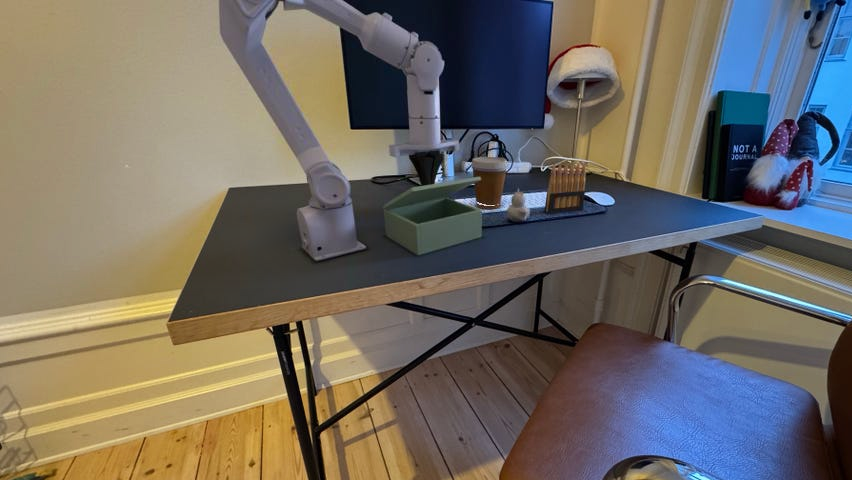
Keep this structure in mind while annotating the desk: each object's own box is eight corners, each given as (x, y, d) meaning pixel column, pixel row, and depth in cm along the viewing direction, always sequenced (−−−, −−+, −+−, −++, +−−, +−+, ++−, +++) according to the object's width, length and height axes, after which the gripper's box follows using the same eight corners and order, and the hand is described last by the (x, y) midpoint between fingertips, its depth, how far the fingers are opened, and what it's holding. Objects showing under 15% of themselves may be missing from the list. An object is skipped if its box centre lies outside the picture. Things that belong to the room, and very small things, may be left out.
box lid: (481, 179, 72) (480, 176, 72) (412, 191, 63) (411, 187, 63) (446, 196, 83) (445, 193, 83) (383, 209, 74) (382, 205, 74)
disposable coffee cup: (506, 211, 93) (509, 163, 88) (469, 210, 94) (469, 162, 88) (505, 201, 102) (507, 157, 97) (471, 200, 102) (471, 156, 97)
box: (481, 237, 77) (482, 210, 75) (418, 255, 68) (416, 226, 66) (446, 221, 86) (446, 197, 83) (386, 236, 77) (383, 209, 74)
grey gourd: (521, 216, 90) (524, 184, 87) (534, 225, 85) (537, 190, 81) (501, 218, 88) (503, 185, 85) (513, 227, 83) (515, 192, 79)
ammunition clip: (547, 213, 93) (552, 165, 87) (544, 211, 94) (548, 163, 89) (583, 209, 96) (590, 163, 91) (578, 207, 98) (585, 161, 92)
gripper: (443, 115, 75) (445, 181, 81) (378, 117, 66) (385, 191, 72) (465, 117, 70) (465, 188, 76) (397, 120, 62) (403, 199, 68)
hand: (427, 190), depth 74 cm, fingers closed
